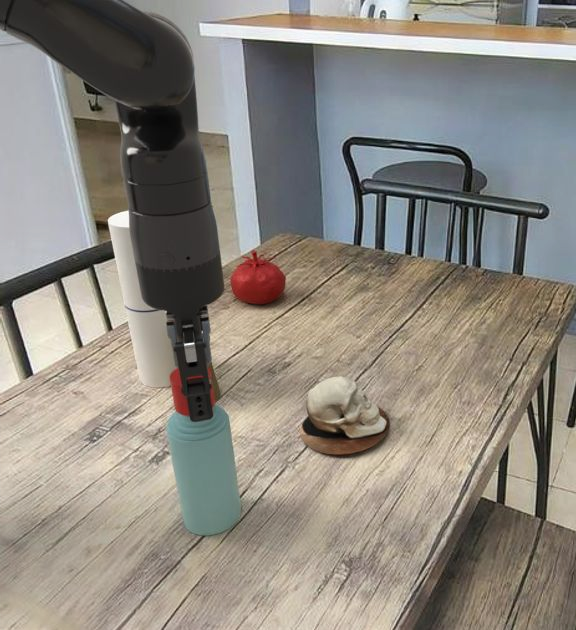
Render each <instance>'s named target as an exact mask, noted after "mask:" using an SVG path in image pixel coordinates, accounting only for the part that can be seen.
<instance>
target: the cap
mask: <svg viewBox="0 0 576 630" xmlns="http://www.w3.org/2000/svg"><path fill="white" fill-rule="evenodd" d="M208 374H209V380H210V379H211V385H212V389H210V390H211V393H210V395H211V402H212V408H213V406H214V404H216V401H215V398H214V391H213V383H212V376H211V370H210V369H209V368H208ZM199 377H203V376H194V377H188V379H192V378H199ZM170 383H171V386H170V388H171V394H172V400H173V405H174V410H175V411H177V412H178V413H179V414H181V415H184V416H189V410H188V404H187V398H186V397H184V395H183V394H182V393H181V388H182V385H181V378H180V373H179V368H177V369H175V370H174V371H173V372H172V373H171V374H170Z"/></svg>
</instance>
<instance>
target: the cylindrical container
mask: <svg viewBox="0 0 576 630" xmlns="http://www.w3.org/2000/svg"><path fill="white" fill-rule="evenodd" d="M107 224H108V229H109V235H110V239H111V244H112V250H113V255H114V260H115V264H116V270H117V273H118V280H119V285H120V289H121V294H122V299H123V304H124V310H125V315H126V319H127V325H128V329H129V334H130V340H131V344H132V349H133V353H134V358H135V363H136V368H137V374H138V378H139V382H140V383H141V384H142V385H143V386H145V387H148V388H154V389H155V388H156V389H157V388H160V389H162V388H168V387H171V383H170V374H171V373H172V372H173V371H174V370H175V369H177V367H175V365H174V358H173V350H172V346H171V340H170V339H169V338H168V335H167V328H166V321H167V317H166V311H164V310H157V309H154V308H152V307H150V306H148V305H147V304H146V303H145V302H144V301H143V299H142V296H141V291H140V286H139V280H138V275H137V269H136V264H135V259H134V253H133V248H132V243H131V237H130V231H129V211H128V210H124V211H120V212H117V213H115V214H113V215H111V216H110V217H109V218H107Z"/></svg>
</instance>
